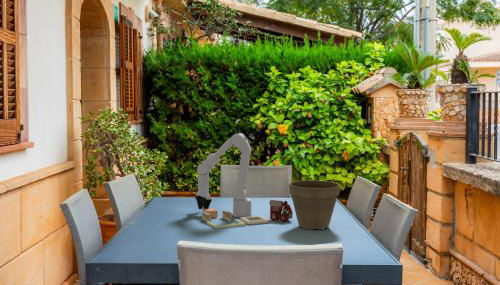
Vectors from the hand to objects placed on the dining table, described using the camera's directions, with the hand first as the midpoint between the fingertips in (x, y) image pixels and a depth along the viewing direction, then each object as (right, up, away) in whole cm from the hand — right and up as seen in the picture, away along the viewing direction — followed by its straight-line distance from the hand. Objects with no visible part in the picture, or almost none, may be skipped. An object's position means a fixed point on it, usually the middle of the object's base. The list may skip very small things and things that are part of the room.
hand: (203, 210), depth 302 cm
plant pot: (+57, -5, -27) cm, 63 cm away
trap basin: (+28, -4, -19) cm, 34 cm away
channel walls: (+8, -3, -16) cm, 18 cm away
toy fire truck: (+41, -4, -13) cm, 43 cm away
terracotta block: (+4, -3, -8) cm, 10 cm away
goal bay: (+13, -4, -26) cm, 29 cm away
